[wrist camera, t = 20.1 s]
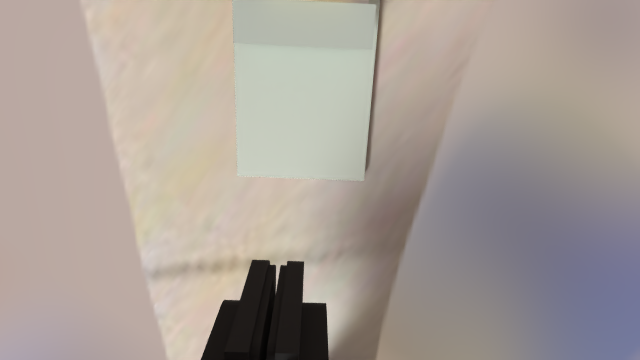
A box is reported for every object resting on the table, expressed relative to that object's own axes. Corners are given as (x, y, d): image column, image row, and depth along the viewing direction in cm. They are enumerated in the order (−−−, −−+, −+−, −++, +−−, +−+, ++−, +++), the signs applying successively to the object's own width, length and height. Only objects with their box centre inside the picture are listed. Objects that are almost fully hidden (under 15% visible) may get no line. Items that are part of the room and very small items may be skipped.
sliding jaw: (364, 49, 32) (372, 49, 27) (245, 43, 32) (233, 42, 27) (368, 2, 31) (377, -5, 26) (244, -4, 30) (232, -13, 26)
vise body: (362, 177, 37) (371, 201, 31) (239, 172, 37) (225, 195, 31) (386, -101, 30) (404, -138, 24) (233, -110, 29) (212, -150, 23)
